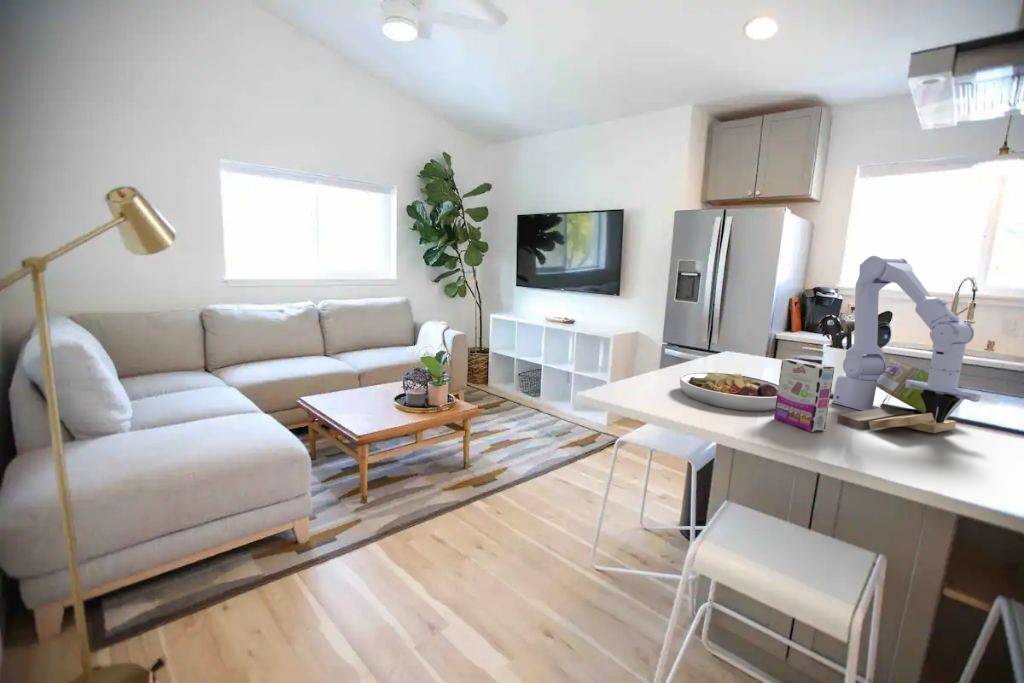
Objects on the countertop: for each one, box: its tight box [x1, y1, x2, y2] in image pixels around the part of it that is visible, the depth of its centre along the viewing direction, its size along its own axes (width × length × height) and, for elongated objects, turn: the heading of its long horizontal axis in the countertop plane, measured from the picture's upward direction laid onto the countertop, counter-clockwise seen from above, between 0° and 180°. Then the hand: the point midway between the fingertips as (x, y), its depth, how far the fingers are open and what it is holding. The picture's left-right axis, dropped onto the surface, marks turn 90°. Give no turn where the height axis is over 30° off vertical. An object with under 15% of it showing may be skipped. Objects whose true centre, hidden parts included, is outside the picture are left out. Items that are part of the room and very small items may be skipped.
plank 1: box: [869, 413, 934, 430], centre depth 120 cm, size 9×11×2 cm
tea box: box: [876, 356, 965, 420], centre depth 137 cm, size 15×10×15 cm
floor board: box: [836, 405, 914, 430], centre depth 129 cm, size 6×24×2 cm, turn 116°
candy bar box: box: [773, 358, 836, 433], centre depth 122 cm, size 11×5×16 cm, turn 21°
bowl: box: [679, 371, 779, 412], centre depth 145 cm, size 30×30×8 cm
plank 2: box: [898, 413, 957, 434], centre depth 125 cm, size 9×11×2 cm
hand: (935, 421), depth 122 cm, fingers closed
